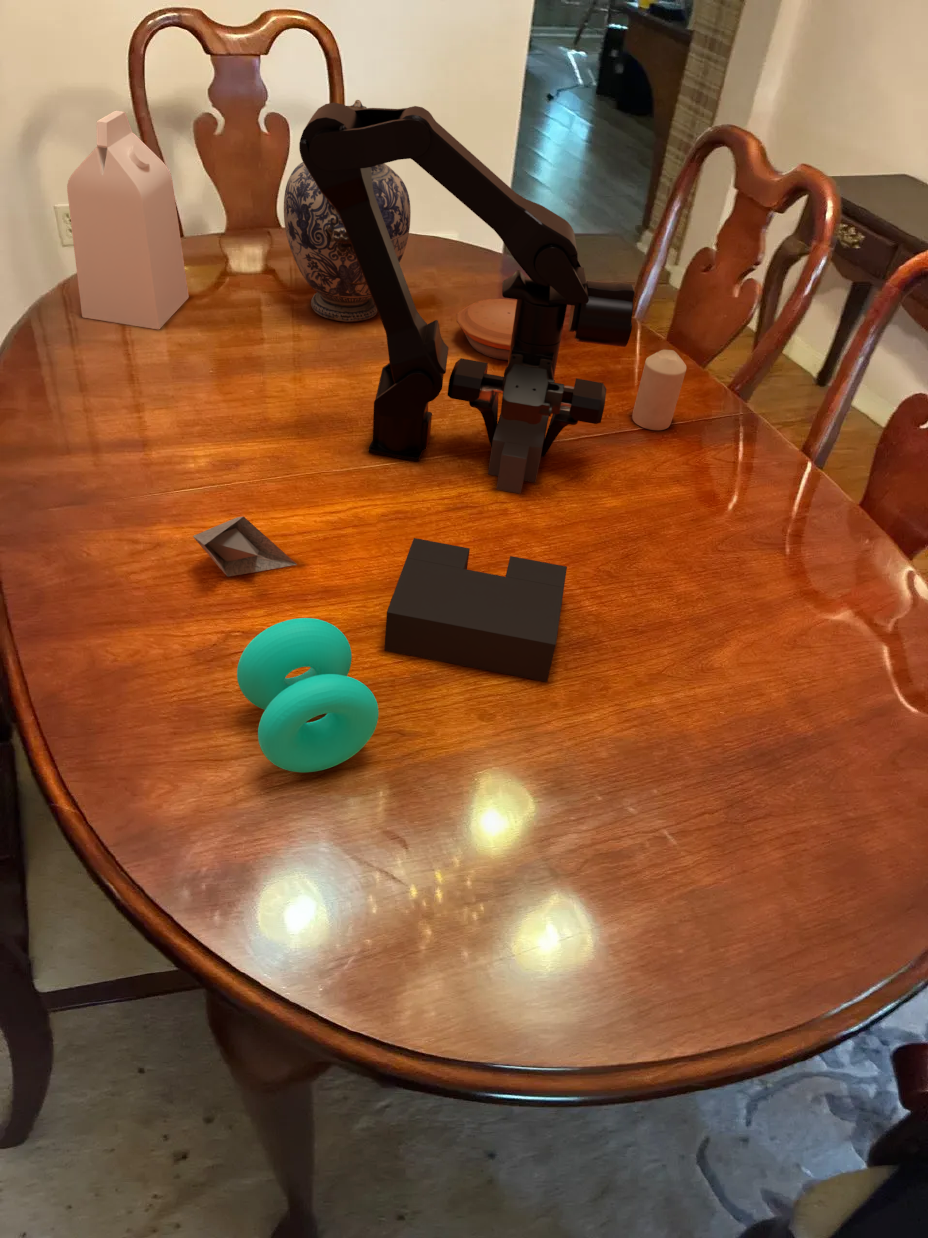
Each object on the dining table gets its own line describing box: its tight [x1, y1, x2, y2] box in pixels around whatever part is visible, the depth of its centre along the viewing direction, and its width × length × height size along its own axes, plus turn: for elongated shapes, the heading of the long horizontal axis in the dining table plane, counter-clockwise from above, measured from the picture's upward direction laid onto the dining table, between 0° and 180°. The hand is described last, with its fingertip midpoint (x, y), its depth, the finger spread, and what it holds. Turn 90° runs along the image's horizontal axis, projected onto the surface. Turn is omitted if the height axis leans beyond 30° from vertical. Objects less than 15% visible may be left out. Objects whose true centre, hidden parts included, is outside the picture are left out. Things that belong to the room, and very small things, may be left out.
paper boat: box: [192, 516, 298, 578], centre depth 94 cm, size 12×6×9 cm
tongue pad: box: [487, 412, 550, 495], centre depth 115 cm, size 6×13×5 cm, turn 170°
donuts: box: [236, 617, 380, 773], centre depth 77 cm, size 10×10×10 cm
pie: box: [456, 298, 517, 361], centre depth 141 cm, size 16×16×5 cm
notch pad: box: [384, 537, 568, 683], centre depth 92 cm, size 16×12×5 cm
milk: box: [66, 110, 190, 330], centre depth 130 cm, size 12×12×26 cm
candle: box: [631, 349, 687, 431], centre depth 126 cm, size 6×6×10 cm
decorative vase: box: [283, 99, 412, 323], centre depth 137 cm, size 21×19×28 cm
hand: (517, 451), depth 117 cm, fingers open, 6 cm apart
